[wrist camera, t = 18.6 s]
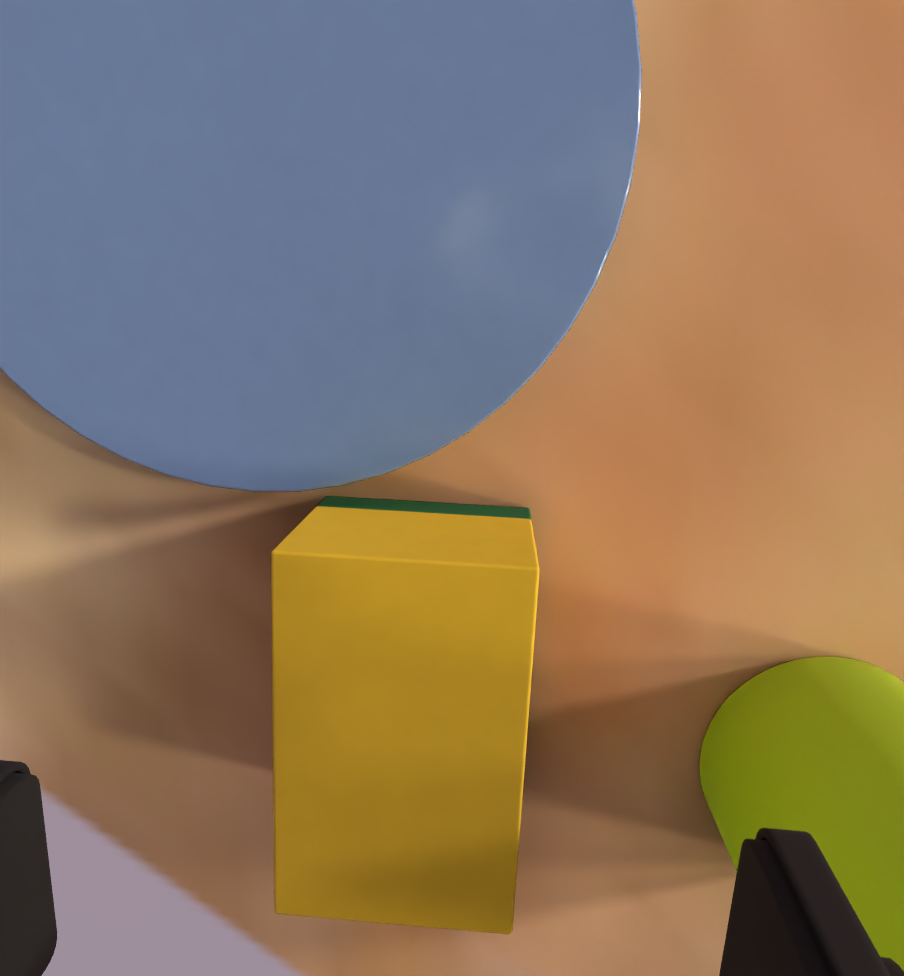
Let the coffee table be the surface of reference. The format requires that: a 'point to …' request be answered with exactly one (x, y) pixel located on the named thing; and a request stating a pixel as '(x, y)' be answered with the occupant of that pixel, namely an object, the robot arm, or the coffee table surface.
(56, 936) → the robot arm
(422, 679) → the sponge
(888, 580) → the coffee table surface
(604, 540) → the coffee table surface
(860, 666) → the soap dispenser
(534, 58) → the plate
